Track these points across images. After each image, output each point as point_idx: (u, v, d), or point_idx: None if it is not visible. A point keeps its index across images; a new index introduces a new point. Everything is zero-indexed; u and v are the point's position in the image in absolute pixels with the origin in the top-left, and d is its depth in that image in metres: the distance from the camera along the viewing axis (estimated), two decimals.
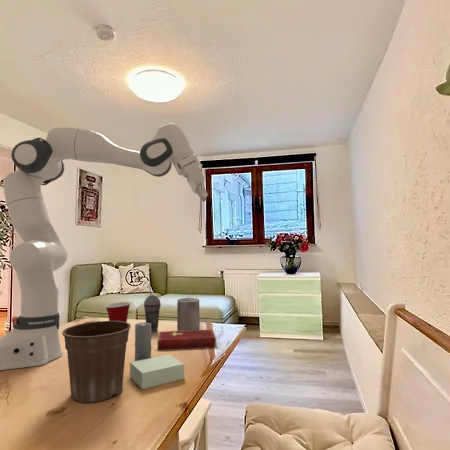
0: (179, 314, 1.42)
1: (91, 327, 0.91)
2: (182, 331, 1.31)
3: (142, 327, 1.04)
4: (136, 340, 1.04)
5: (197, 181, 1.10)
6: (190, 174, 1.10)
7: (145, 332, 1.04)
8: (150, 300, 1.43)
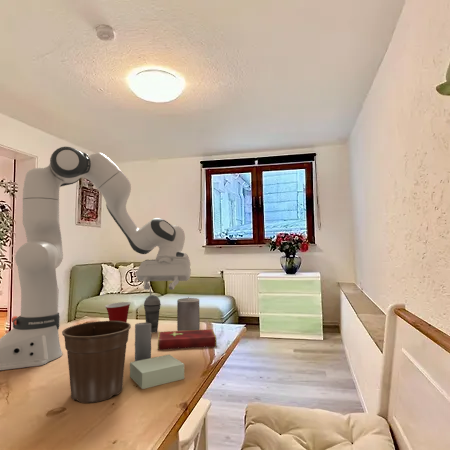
0: (179, 314, 1.42)
1: (91, 327, 0.91)
2: (182, 331, 1.31)
3: (142, 327, 1.04)
4: (136, 340, 1.04)
5: (187, 275, 1.20)
6: (188, 267, 1.22)
7: (145, 332, 1.04)
8: (150, 300, 1.43)
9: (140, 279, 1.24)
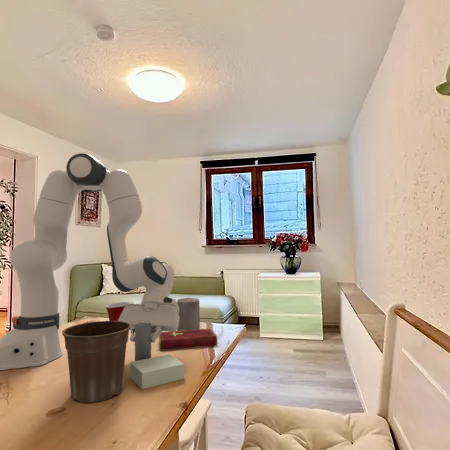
0: (179, 314, 1.42)
1: (91, 327, 0.91)
2: (181, 331, 1.31)
3: (142, 327, 1.04)
4: (136, 340, 1.04)
5: (175, 326, 1.07)
6: (176, 316, 1.09)
7: (145, 332, 1.04)
8: None
9: None
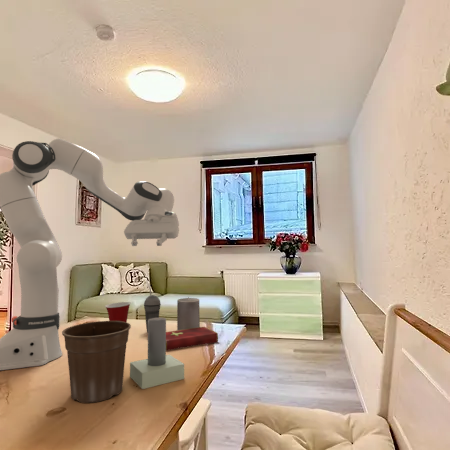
0: (179, 314, 1.42)
1: (91, 327, 0.91)
2: (178, 331, 1.32)
3: (156, 323, 0.92)
4: (149, 337, 0.92)
5: (174, 233, 1.21)
6: (176, 225, 1.23)
7: (159, 328, 0.92)
8: (150, 300, 1.43)
9: (128, 237, 1.24)
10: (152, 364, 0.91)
